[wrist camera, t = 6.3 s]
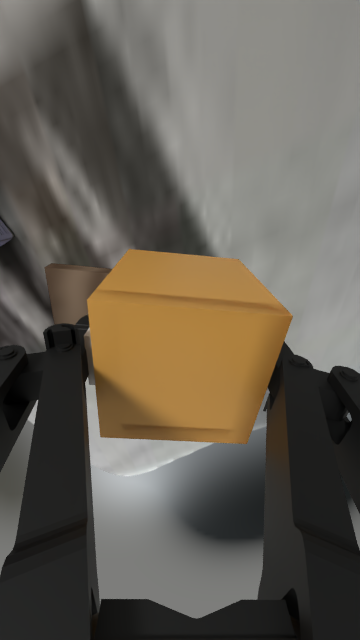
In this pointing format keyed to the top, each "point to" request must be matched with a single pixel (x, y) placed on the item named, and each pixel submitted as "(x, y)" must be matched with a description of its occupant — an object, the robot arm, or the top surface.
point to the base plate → (72, 290)
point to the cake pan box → (4, 233)
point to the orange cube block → (183, 347)
